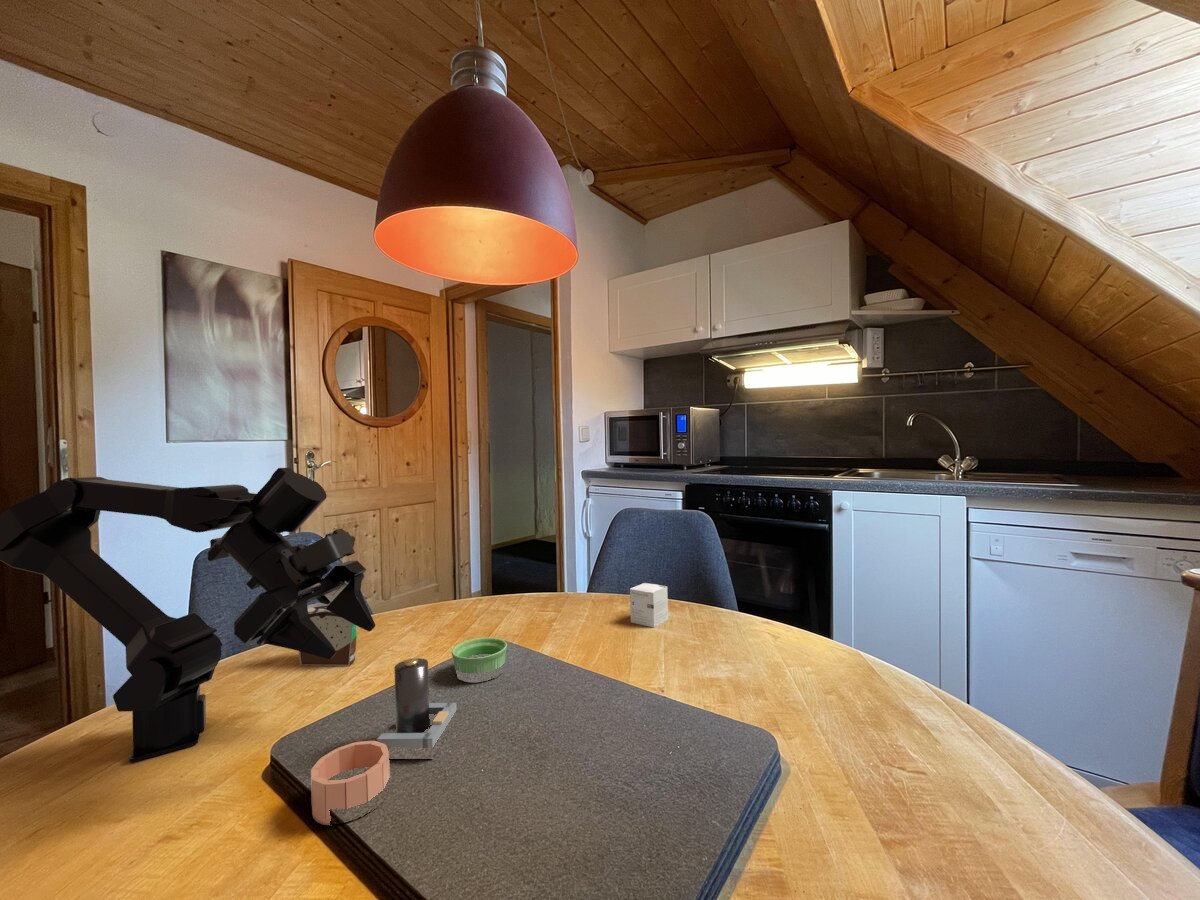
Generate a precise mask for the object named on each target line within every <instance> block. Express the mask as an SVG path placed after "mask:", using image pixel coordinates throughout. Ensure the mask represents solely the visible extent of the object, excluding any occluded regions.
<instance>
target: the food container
mask: <svg viewBox="0 0 1200 900" xmlns="http://www.w3.org/2000/svg"><path fill="white" fill-rule="evenodd" d="M328 605H329V604H328ZM328 605H327V604H323V603H320V602H317V603H312V604H309V605H308V604H307V608H308V616H309V618H310V619H311V620H312V622H313V623H314V624H315V625H316V626H317V627H318V629H319V630H320V631H321V632H322V633H323V634H324V636H325V637H326V638H327V639H328V640H329V642H330V643H331V644H332V646H333V647H334V649H335V650H336V654H335V655H334V656H333V657H332V658H331V659H326V658H322V657H319V656H315V655H311V654H308V653H304V652H301V651H298V657H299V659H298V660H299V664H300V665H325V666H324V667H350V666H352V665H353V664H354V662H355V660H356V653H357V652H356V649H357V635H358V626H356V625H354V624H353V623H351V622H349V621H347V620H345V619H343V618H342V617H340V616H338V615H336V614H334V613H332V612H330V611H329V610H327V609H326V607H327V606H328Z"/></svg>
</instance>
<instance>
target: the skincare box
mask: <svg viewBox="0 0 1200 900" xmlns="http://www.w3.org/2000/svg"><path fill="white" fill-rule="evenodd" d="M668 592H669V591H668V586H666V585H660V584H657V583H648V582H643V583H641V584H638V585H636V586H634V587H631V588H629V607H630V608H629V609H630V623H632V624H637V625H641V626H646V627H650V628H657V627H658V626H660V625H661V624H663V623H665V622H667V621H668V620H669V612H668V611H669V605H668V604H669V603H668V602H669V601H668Z"/></svg>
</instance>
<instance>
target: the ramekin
mask: <svg viewBox="0 0 1200 900" xmlns="http://www.w3.org/2000/svg"><path fill="white" fill-rule="evenodd" d="M507 649H508V644H507V642H506V641H505V640H504V639H502V638H498V637H476V638H472V639H471V638H470V639H467V640H465V641H463V642H460V643H458V644H456V645H455V646H454V647H453V648H452V650H451V656H452V659H453V665H454V669H455V668H456V670H458V671H459V672H462V673H469V674H470V673H476V674H478V673H485V672H490V671H493V670H495V669H497V668H499V667H501V666H502V665H503V664H504V663H505V664H506V652H507ZM479 654H492V655H488V656H484V657H477V658H467V657H469V656H472V655H479Z"/></svg>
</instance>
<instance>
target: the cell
mask: <svg viewBox="0 0 1200 900" xmlns="http://www.w3.org/2000/svg"><path fill="white" fill-rule="evenodd" d="M393 672H394V698H395V699H394V701H395V702H394V703H395V733H396V732H397V733H422V732H424V731H425V730H426V729H428V727H429V725H430V719H429V703H430V696H429V695H430V694H429V692H430V690H429V689H430V688H429V686H430V685H429V684H430V683H429V662H428V660H427V659H425V658H421V657H419V658H418V657H417V658H414V657H412V658H409V659H406V660H402V661H401V662H399V663H397V664H396V665H395V666H394V671H393Z"/></svg>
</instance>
